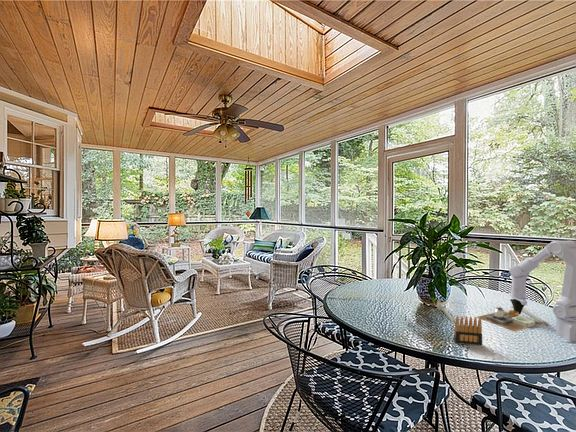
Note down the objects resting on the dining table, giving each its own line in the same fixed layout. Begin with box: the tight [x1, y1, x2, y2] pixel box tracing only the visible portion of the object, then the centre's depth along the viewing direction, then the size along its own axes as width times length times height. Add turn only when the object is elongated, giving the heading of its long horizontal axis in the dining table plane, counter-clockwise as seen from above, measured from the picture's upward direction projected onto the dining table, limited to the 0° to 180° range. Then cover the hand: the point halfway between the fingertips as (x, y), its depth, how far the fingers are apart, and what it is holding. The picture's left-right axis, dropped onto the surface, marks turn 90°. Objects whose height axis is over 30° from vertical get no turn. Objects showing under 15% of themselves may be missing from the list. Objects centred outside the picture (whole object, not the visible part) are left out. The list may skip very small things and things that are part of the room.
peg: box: [494, 306, 505, 320], centre depth 147 cm, size 4×4×7 cm
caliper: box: [436, 299, 456, 325], centre depth 156 cm, size 20×1×6 cm, turn 174°
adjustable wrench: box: [510, 305, 549, 326], centre depth 157 cm, size 25×6×2 cm, turn 168°
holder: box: [476, 310, 544, 333], centre depth 148 cm, size 18×23×3 cm
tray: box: [511, 315, 536, 328], centre depth 144 cm, size 7×7×2 cm
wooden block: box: [504, 309, 520, 320], centre depth 150 cm, size 3×10×3 cm, turn 113°
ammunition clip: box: [453, 315, 483, 346], centre depth 126 cm, size 11×2×12 cm, turn 77°
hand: (517, 313), depth 153 cm, fingers closed
